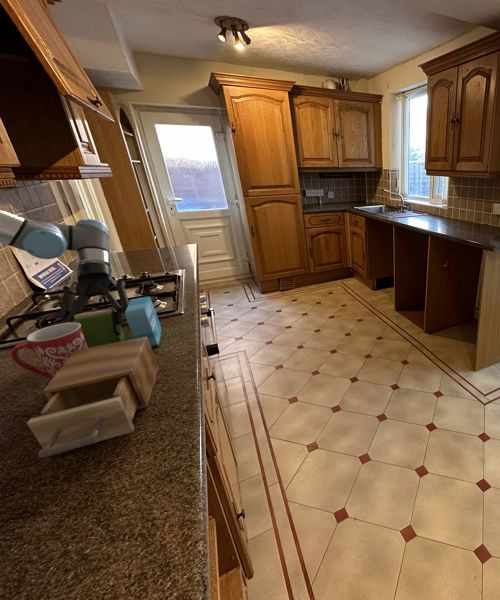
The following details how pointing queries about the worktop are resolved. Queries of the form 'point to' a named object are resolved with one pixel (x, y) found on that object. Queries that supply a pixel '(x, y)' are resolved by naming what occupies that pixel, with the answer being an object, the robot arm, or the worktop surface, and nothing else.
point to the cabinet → (110, 368)
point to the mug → (52, 347)
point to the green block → (98, 328)
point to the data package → (143, 320)
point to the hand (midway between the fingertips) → (98, 337)
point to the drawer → (85, 415)
